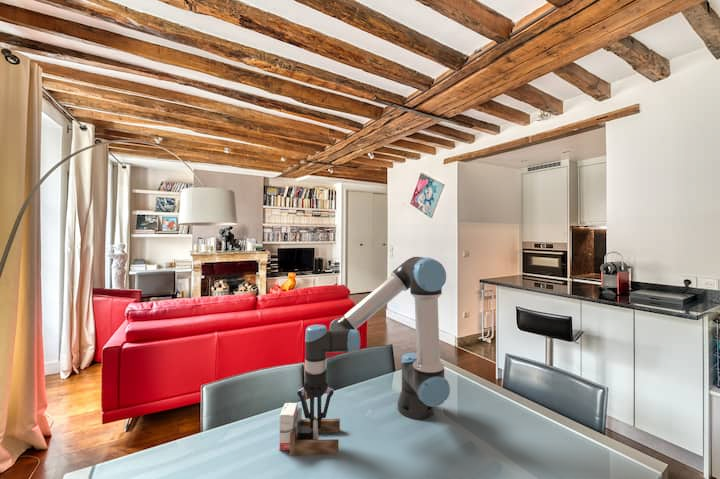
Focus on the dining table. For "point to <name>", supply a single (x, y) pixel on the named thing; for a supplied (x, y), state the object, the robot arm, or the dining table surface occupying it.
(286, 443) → the ink box
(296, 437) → the grey stepped bracket
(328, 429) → the chute
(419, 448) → the dining table surface
